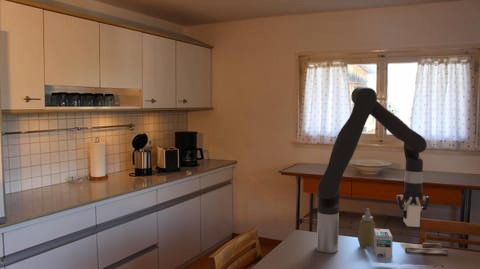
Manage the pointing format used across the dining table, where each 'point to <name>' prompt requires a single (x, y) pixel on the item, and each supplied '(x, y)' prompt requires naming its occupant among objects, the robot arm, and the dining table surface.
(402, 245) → the brown panel with ledge
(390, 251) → the light bulb box
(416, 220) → the carton
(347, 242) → the dining table surface
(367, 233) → the squeeze bottle
